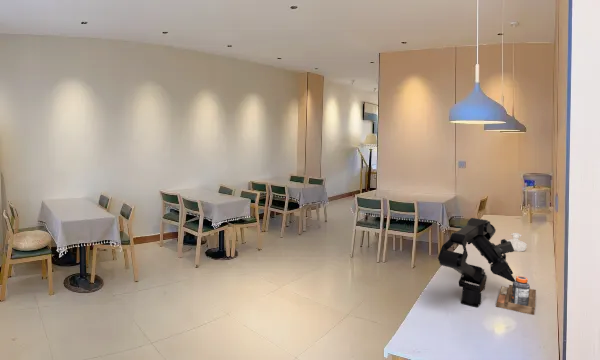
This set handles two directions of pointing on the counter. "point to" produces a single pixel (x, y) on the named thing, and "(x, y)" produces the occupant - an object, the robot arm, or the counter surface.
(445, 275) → the counter surface
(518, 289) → the pill bottle
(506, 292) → the socket frame
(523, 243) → the white tied bag
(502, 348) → the counter surface
